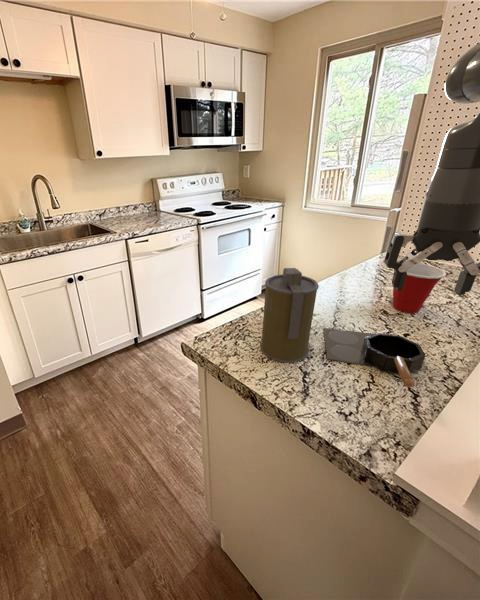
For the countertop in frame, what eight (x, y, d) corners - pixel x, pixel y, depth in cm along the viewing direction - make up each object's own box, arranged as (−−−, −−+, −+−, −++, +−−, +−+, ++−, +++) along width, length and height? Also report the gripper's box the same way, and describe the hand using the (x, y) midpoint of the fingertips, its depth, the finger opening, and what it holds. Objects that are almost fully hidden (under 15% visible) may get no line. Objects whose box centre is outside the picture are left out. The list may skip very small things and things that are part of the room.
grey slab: (399, 337, 74) (400, 336, 74) (417, 373, 63) (417, 372, 62) (323, 328, 80) (323, 327, 80) (327, 359, 69) (327, 358, 69)
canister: (256, 337, 79) (262, 264, 71) (300, 337, 77) (311, 262, 69) (264, 363, 70) (272, 282, 61) (314, 364, 68) (329, 280, 59)
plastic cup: (433, 321, 79) (449, 277, 73) (381, 312, 85) (392, 271, 80) (431, 304, 86) (445, 263, 81) (383, 297, 92) (393, 258, 87)
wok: (411, 350, 69) (416, 335, 67) (439, 405, 55) (446, 387, 53) (359, 343, 73) (363, 329, 71) (373, 393, 59) (378, 376, 57)
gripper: (407, 203, 48) (383, 296, 55) (537, 199, 42) (492, 304, 49) (395, 195, 54) (375, 280, 61) (507, 191, 48) (471, 285, 55)
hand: (427, 291), depth 55 cm, fingers open, 8 cm apart
